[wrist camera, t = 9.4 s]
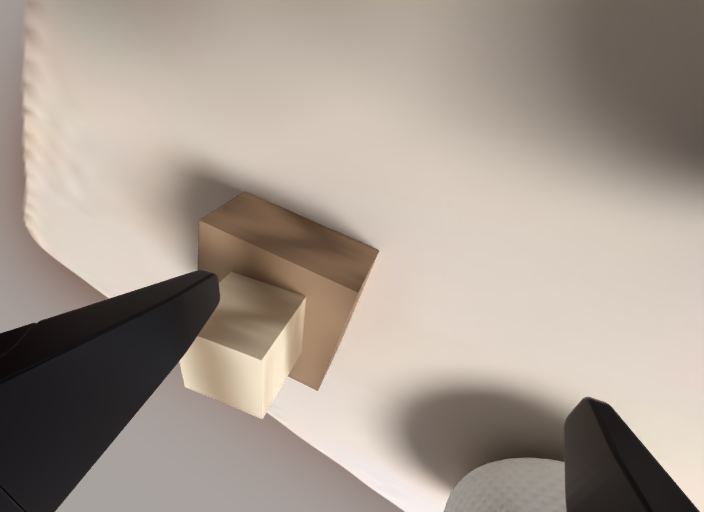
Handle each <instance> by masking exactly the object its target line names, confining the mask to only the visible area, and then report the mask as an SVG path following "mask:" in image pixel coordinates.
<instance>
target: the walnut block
mask: <svg viewBox="0 0 704 512" xmlns="http://www.w3.org/2000/svg"><path fill="white" fill-rule="evenodd" d="M378 252H379V250H377V249H374V248H372V247H370V246H367V245H365V244H363V243H361V242H358V241H356V240H354V239H352V238H349V237H347V236H345V235H343V234H340V233H338V232H336V231H334V230H331V229H329V228H327V227H324V226H322V225H320V224H318V223H315V222H313V221H311V220H309V219H306V218H304V217H302V216H300V215H297V214H295V213H293V212H291V211H288V210H286V209H284V208H281V207H279V206H277V205H275V204H272V203H270V202H268V201H266V200H263V199H261V198H259V197H257V196H254V195H252V194H250V193H248V192H243V193H242V194H240V195H239V196H237V197H235V198H234V199H232V200H231V201H229V202H228V203H226V204H224V205H223V206H221V207H220V208H218V209H216V210H215V211H213V212H212V213H210V214H209V215H207V216H205V217H204V218H202V219H201V220H199V250H198V270H201V269H204V270H207V271H210V272H213V273H215V274H217V276H218V280H219V282H220V281H222V280H223V279H224V278H225V277H226V276H227V275H228V274H229V273H230V272H234V273H237V274H240V275H243V276H246V277H249V278H252V279H255V280H258V281H261V282H264V283H267V284H270V285H273V286H276V287H279V288H282V289H285V290H288V291H291V292H294V293H297V294H300V295H303V296H306V304H305V316H304V328H303V340H302V353H301V355H300V356H299V358H298V360H297V361H296V363H295V365H294V366H293V368H292V370H291V372H290V373H289V375H288V377H290V378H293V379H295V380H297V381H299V382H301V383H303V384H305V385H307V386H309V387H311V388H313V389H315V390H317V391H318V389H319V387H320V385H321V383H322V381H323V379H324V377H325V375H326V372H327V370H328V368H329V366H330V364H331V362H332V360H333V358H334V356H335V353H336V351H337V349H338V347H339V345H340V343H341V340H342V338H343V336H344V333H345V331H346V329H347V326H348V324H349V321H350V319H351V317H352V314H353V312H354V309H355V307H356V305H357V302H358V300H359V298H360V295H361V293H362V290H363V288H364V286H365V283H366V281H367V279H368V276H369V274H370V271H371V269H372V267H373V264H374V262H375V260H376V257H377V255H378Z"/></svg>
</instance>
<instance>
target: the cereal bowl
mask: <svg viewBox="0 0 704 512" xmlns="http://www.w3.org/2000/svg"><path fill="white" fill-rule="evenodd" d="M444 512H567V511H566V501H565V462H562V461H556V460H550V459H541V458H510V459H504V460H500V461H494V462H492V463H488V464H485V465H482V466H480V467H478V468H475V469H474V470H473V471H472V472H469V473H468V474H467V475H466V476H464V477H463V478H462V480H461V481H459V482H458V483H457V485H456V486H455V487H454V489H453V491H452V492H451V494H450V496H449V499H448V500H447V503H446V507H445V510H444Z"/></svg>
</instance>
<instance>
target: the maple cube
mask: <svg viewBox="0 0 704 512" xmlns="http://www.w3.org/2000/svg"><path fill="white" fill-rule="evenodd" d="M219 289H220V302H219V304H218V306H217V308H216V309H215V311H214V312H213V314H212V315H211V317H210V318H209V320H208V321H207V323H206V324H205V326H204V327H203V329H202V330H201V332H200V333H199V335H198V336H197V338H196V339H195V341H194V342H193V344H192V345H191V346H190V348H189V349H188V351H187V352H186V353H185V355H184V356H183V357H182V358H181V360H180V361H179V362H180V366H181V371H182V375H183V380H184V384H185V387H187V388H189V389H192V390H194V391H196V392H199V393H201V394H204V395H206V396H208V397H211V398H213V399H215V400H218V401H220V402H223V403H225V404H228V405H230V406H232V407H234V408H237V409H239V410H242V411H244V412H247V413H249V414H251V415H254V416H256V417H259V418H261V419H263V417H264V416H265V414H266V412H267V411H268V409H269V407H270V405H271V404H272V402H273V400H274V399H275V397H276V395H277V394H278V392H279V390H280V388H281V387H282V385H283V383H284V382H285V380H286V378H287V377H288V375H289V373H290V372H291V370H292V368H293V366H294V365H295V363H296V361H297V360H298V358H299V356H300V355H301V353H302V340H303V328H304V316H305V304H306V296H303V295H300V294H297V293H294V292H291V291H288V290H285V289H282V288H279V287H276V286H273V285H270V284H267V283H264V282H261V281H258V280H255V279H252V278H249V277H246V276H243V275H240V274H237V273H234V272H230V273H229V274H228V275H227V276H226V277H225V278H224V279H223V280H222V281H220V282H219Z"/></svg>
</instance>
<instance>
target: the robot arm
mask: <svg viewBox="0 0 704 512" xmlns="http://www.w3.org/2000/svg"><path fill="white" fill-rule="evenodd" d="M219 302H220V289H219V280H218V276H217V274H215V273H213V272H210V271H207V270H204V269H201V270H197V271H194V272H191V273H188V274H185V275H181V276H178V277H175V278H172V279H169V280H166V281H163V282H160V283H157V284H153V285H150V286H147V287H144V288H141V289H138V290H135V291H132V292H128V293H125V294H122V295H119V296H116V297H113V298H110V299H107V300H104V301H101V302H97V303H94V304H91V305H88V306H85V307H82V308H79V309H76V310H72V311H69V312H66V313H63V314H60V315H57V316H54V317H50V318H48V319H44V320H41V321H39V322H38V323H32V324H29V325H25V326H22V327H19V328H16V329H13V330H10V331H6V332H3V333H0V512H55V511H56V510H57V509H58V507H59V506H60V505H61V504H62V503H63V501H64V500H65V499H66V497H67V496H68V495H69V494H70V493H71V492H72V490H73V489H74V488H75V487H76V485H77V484H78V483H79V482H80V481H81V480H82V478H83V477H84V476H85V475H86V473H87V472H88V471H89V470H90V469H91V467H92V466H93V465H94V464H95V463H96V461H97V460H98V459H99V458H100V457H101V455H102V454H103V453H104V452H105V450H106V449H107V448H108V447H109V446H110V444H111V443H112V442H113V441H114V440H115V438H116V437H117V436H118V434H119V433H120V432H121V431H122V430H123V429H124V427H125V426H126V425H127V424H128V423H129V421H130V420H131V419H132V418H133V417H134V415H135V414H136V413H137V412H138V411H139V409H140V408H141V407H142V406H143V404H144V403H145V402H146V401H147V400H148V398H149V397H150V396H151V395H152V394H153V392H154V391H155V390H156V389H157V388H158V386H159V385H160V384H161V383H162V382H163V380H164V379H165V378H166V377H167V375H168V374H169V373H170V371H172V369H173V368H174V367H175V366H176V365H177V363H178V362H179V361H180V360H181V358H182V357H183V356H184V355H185V353H186V352H187V351H188V349H189V348H190V346H191V345H192V344H193V342H194V341H195V339H196V338H197V336H198V335H199V333H200V332H201V330H202V329H203V327H204V326H205V324H206V323H207V321H208V320H209V318H210V317H211V315H212V314H213V312H214V311H215V309H216V308H217V306H218V304H219ZM564 457H565V501H566V511H567V512H700V511H699V510H698V509H697V508H696V507H695V505H694V504H693V503H692V502H691V501H690V499H689V498H688V497H687V496H686V495H685V494H684V492H683V491H682V490H681V489H680V488H679V486H678V485H677V484H676V483H675V482H674V480H673V479H672V478H671V477H670V476H669V475H668V473H667V472H666V471H665V470H664V469H663V467H662V466H661V465H660V464H659V463H658V461H657V460H656V459H655V458H654V457H653V455H652V454H651V453H650V452H649V451H648V450H647V448H646V447H645V446H644V445H643V444H642V442H641V441H640V440H639V439H638V438H637V436H636V435H635V434H634V433H633V432H632V431H631V429H630V428H629V427H628V426H627V425H626V423H625V422H624V421H623V420H622V419H621V417H620V416H619V415H618V414H617V413H616V411H615V410H614V409H613V408H612V407H611V406H610V405H609V404H607V403H606V402H603V401H600V400H597V399H594V398H591V397H585V398H583V399H582V400H581V401H580V402H579V404H578V405H577V406H576V407H575V408H574V409H573V411H572V412H571V413H570V414H569V415H568V417H567V418H566V420H565V425H564Z"/></svg>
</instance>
